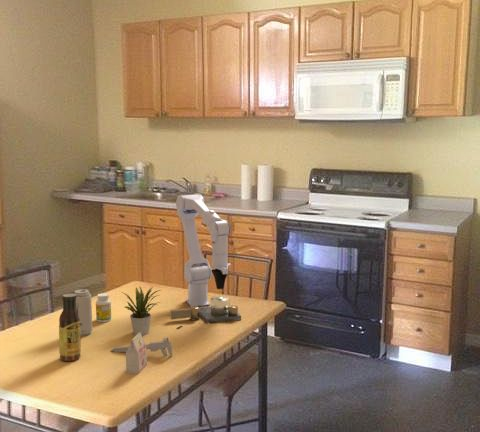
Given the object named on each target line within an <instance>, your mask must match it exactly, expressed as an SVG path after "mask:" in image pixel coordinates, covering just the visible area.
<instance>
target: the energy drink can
mask: <svg viewBox="0 0 480 432" xmlns="http://www.w3.org/2000/svg"><path fill="white" fill-rule="evenodd" d="M73 294H76V310H77V313H78V316H79V319H80V332H81V337H86V336H89V335H90V334H91V333H92V332H93V314H92V312H93V311H92V294H91V292H90V290H89V289H88V288H80V289H79V288H78V289H76V290H74V293H73Z"/></svg>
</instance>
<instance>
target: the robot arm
mask: <svg viewBox="0 0 480 432" xmlns="http://www.w3.org/2000/svg"><path fill="white" fill-rule="evenodd" d="M175 207H176V211H177V216H178V217H179V218H180V219H181V224H182V228H183V233H184V239H185V243H186V247H187V249H186V250H187V254H188V257H189V259H188V260H187V261H186V262H185V263H184V273H183V274H184V278H185V280H186V281H187V283H188V284H187V298H186V299H185V301H186V302H187V304H188V305H189V306H190V307H192V306H198V307H205V306H211V302H210V301H209V300H208V283H209V282H210V280H211V278H212V275H213V277H214V281H215V286H216V289H217V290H223V289H224V286H225V283H226V282H225V281H226V279H227V277H228V275H229V273H230V272H229V267H231V266H232V264H231V263H230V262H229V263H228V261H229V260H228V257H229V256H228V254H229V253H228V251H229V250H228V249H229V248H228V247H229V246H228V245H229V242H228V241H229V239H228V236H230V234H231V231H232V227H231V224H230V221H229V220H228V219H222V218H221V217H220V216H219V215H218V213H216V211H215V210H214V209H209V208H208V207H207V205H206V204H205V199H204V197H203V195H202V194H201V193H197V194H183V195H182V194H179V195H177V198H176V202H175ZM199 215H200V216H201V221H202V222H203V224H204V225H205V226H206V227H207V228H208V231H209V236H210V241H211V242H212V243H211V250H212V252H211V253H212V254H211V255H212V256H211V260H212V261H211V266H210V262H209V260H208V259H206V257H203V255H202V251H201V246H200V245H201V244H200V241H199V236H198V232H197V226H196V221H195V219H196V217H198V216H199ZM212 268H213V269H212Z"/></svg>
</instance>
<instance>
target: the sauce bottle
mask: <svg viewBox="0 0 480 432" xmlns="http://www.w3.org/2000/svg"><path fill="white" fill-rule="evenodd" d="M61 300H62V305H63V306H62V311H61V313H60V315H59V318H58V319H59V320H58V322H59V323H58V324H59V325H58V337H59V340H58V342H59V343H58V344H59V345H58V346H59V348H58V349H59V351H58V352H59V359H60V360H61V361H62V362H73V361H77V360H78V359H80V357H81V352H82V349H81V347H82V346H81V345H82V344H81V342H82V341H81V338H82V336H81V332H80V319H79V316H78V313H77V310H76V294H74V293H65V294H62V297H61Z"/></svg>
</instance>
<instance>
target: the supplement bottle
mask: <svg viewBox="0 0 480 432" xmlns="http://www.w3.org/2000/svg"><path fill="white" fill-rule="evenodd" d="M109 298H110V296H109V293H106V292H105V293H104V292H103V293H98V294H97V300H96V301H95V310H96V311H95V315H96V322H99V323H107V322H110V321H111V320H112V301H111V300H110V299H109Z"/></svg>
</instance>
